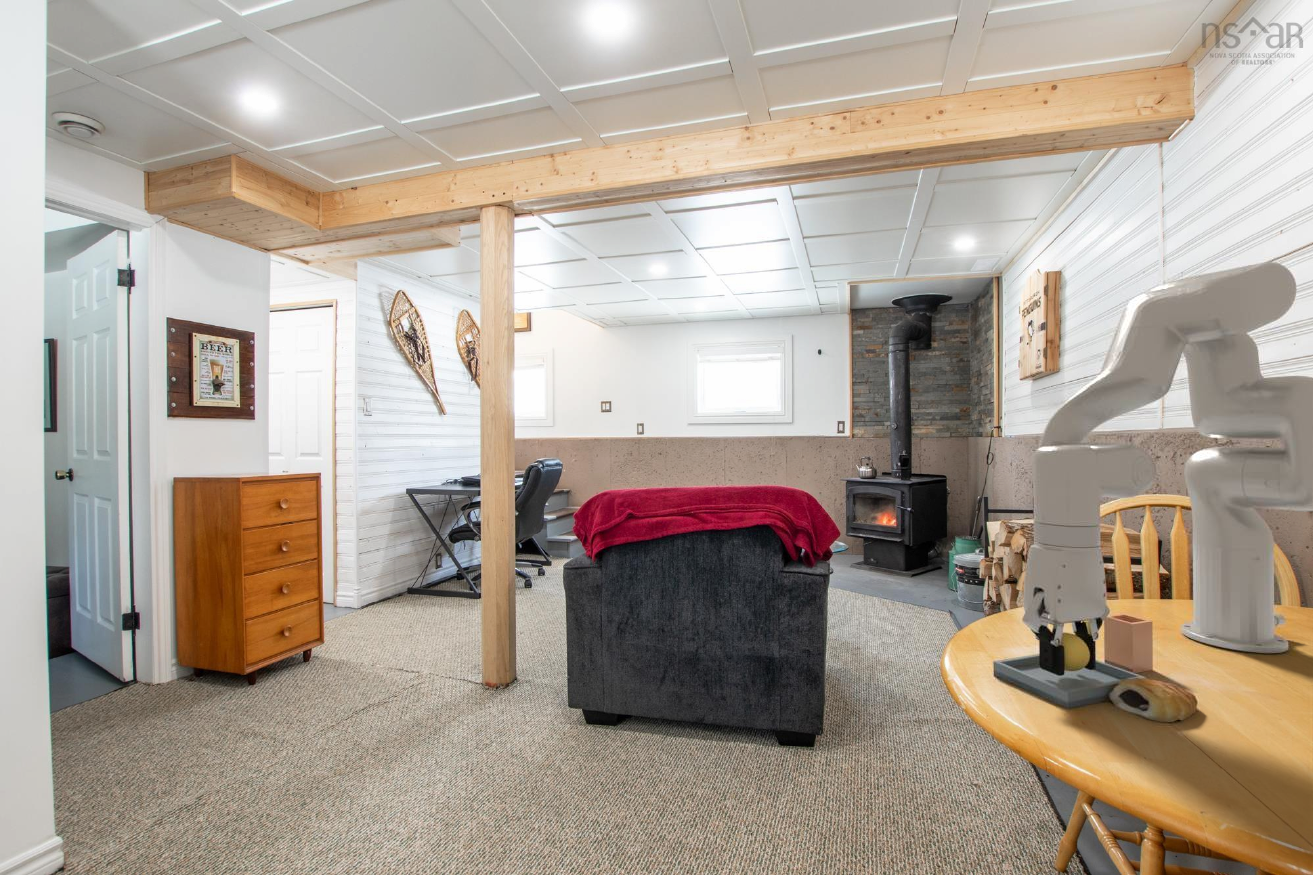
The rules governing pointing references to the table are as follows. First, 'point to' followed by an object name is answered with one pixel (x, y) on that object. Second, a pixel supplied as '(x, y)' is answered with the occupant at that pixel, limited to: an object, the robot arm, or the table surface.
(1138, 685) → the pastry
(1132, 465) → the robot arm
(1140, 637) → the open box
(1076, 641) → the ball
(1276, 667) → the table surface
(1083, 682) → the tray
